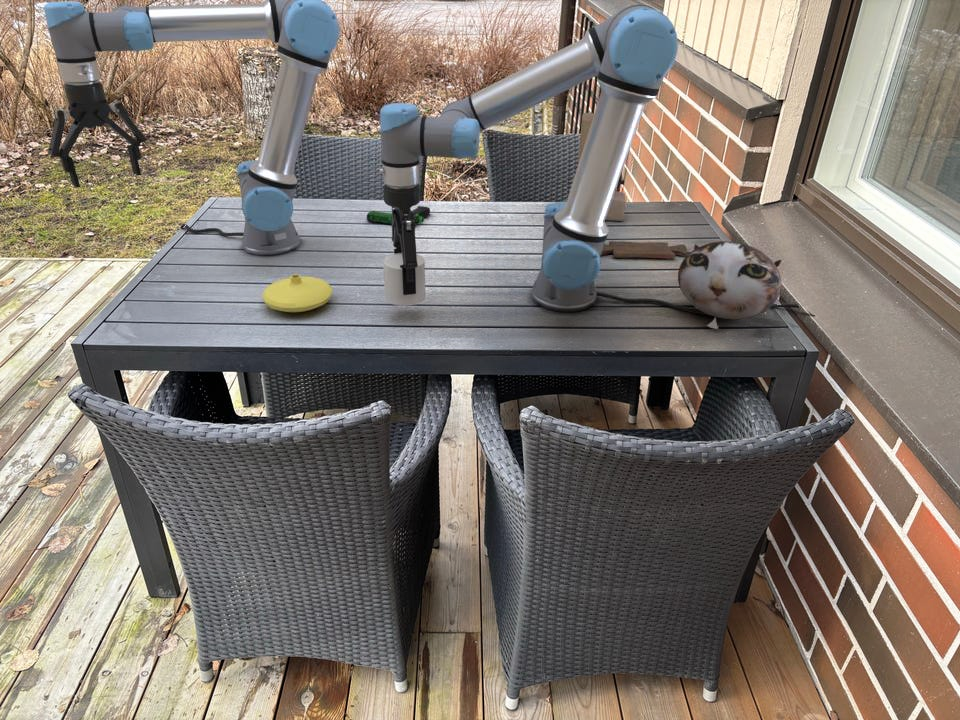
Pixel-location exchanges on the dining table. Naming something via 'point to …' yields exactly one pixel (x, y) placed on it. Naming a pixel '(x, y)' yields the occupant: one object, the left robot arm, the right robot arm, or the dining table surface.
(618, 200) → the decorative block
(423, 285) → the can
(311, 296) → the vase
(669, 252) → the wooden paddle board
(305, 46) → the left robot arm
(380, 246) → the dining table surface
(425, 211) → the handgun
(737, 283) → the cat face balloon
